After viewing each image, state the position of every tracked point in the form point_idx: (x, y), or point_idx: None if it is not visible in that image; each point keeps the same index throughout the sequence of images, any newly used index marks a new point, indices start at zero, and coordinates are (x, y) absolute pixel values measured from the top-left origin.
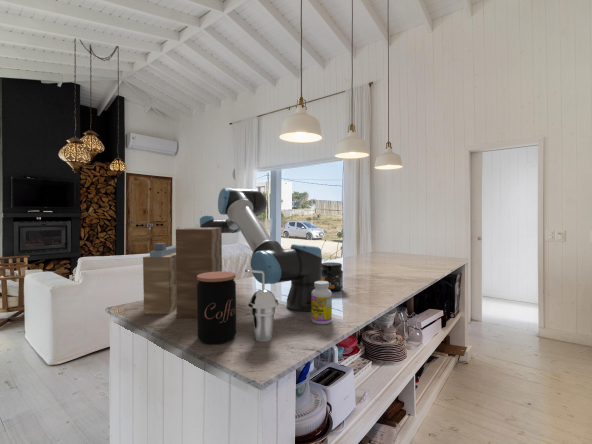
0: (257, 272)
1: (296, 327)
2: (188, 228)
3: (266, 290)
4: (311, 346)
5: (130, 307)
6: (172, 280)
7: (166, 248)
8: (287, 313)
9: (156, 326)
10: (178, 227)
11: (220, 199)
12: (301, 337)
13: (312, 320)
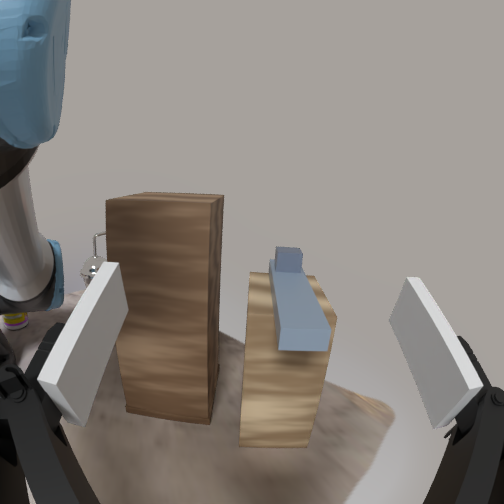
0: (101, 234)
1: (53, 320)
2: (202, 197)
3: (92, 256)
4: (68, 296)
5: (357, 416)
6: (245, 340)
7: (293, 284)
8: (31, 351)
9: (238, 347)
10: (409, 277)
11: (60, 39)
12: (64, 306)
13: (27, 321)
